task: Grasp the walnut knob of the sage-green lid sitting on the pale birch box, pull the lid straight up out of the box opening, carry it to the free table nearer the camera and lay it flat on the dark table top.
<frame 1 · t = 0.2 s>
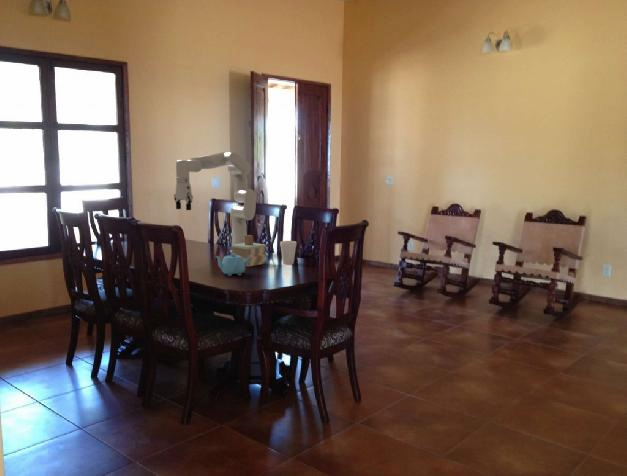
hand: (183, 209, 324), 31 cm above the table, fingers open, 9 cm apart
foam cup: (288, 263, 323), on the table
teapot: (233, 275, 289), on the table
box: (248, 263, 322), on the table
lid: (248, 248, 320), point 9 cm above the table, touching box
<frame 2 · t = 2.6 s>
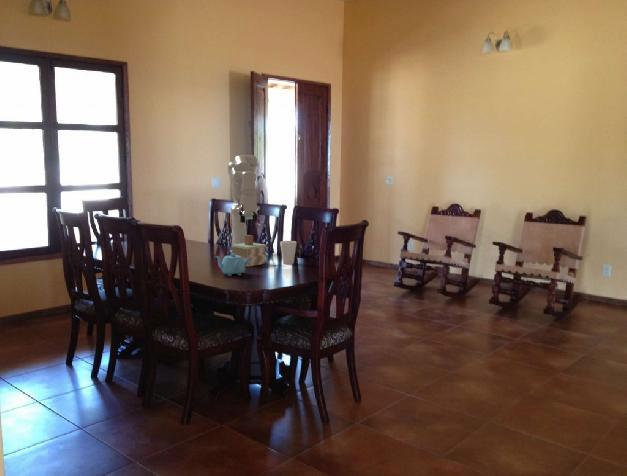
hand: (248, 221, 318), 25 cm above the table, fingers open, 9 cm apart
nothing on the table moved.
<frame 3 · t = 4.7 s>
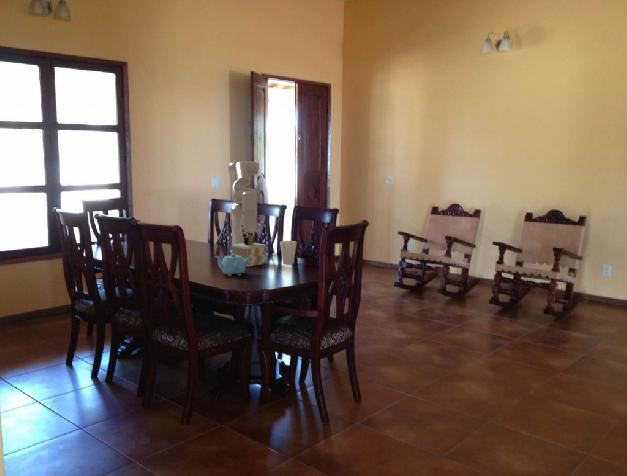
hand: (248, 243, 320), 12 cm above the table, fingers closed on lid, 3 cm apart
lid: (248, 248, 320), point 9 cm above the table, touching box, gripper
everything else where it was.
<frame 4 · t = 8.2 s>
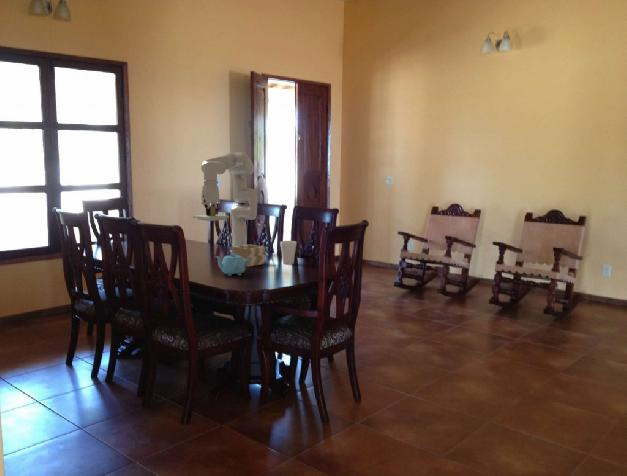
hand: (211, 214, 315), 29 cm above the table, fingers closed on lid, 3 cm apart
lid: (211, 219, 316), point 26 cm above the table, touching gripper
everything else where it was.
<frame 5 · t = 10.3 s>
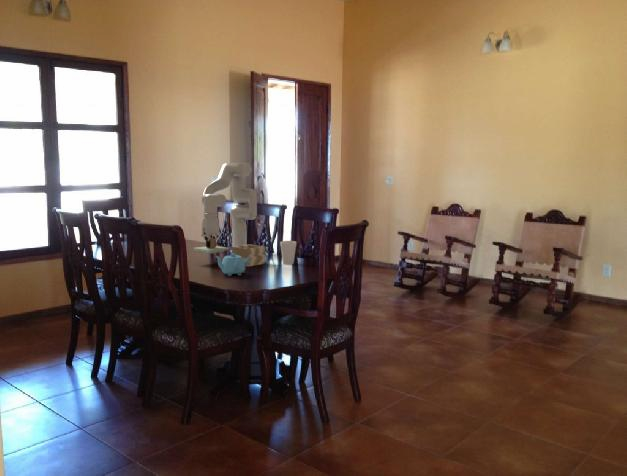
hand: (211, 246, 318), 10 cm above the table, fingers closed on lid, 3 cm apart
lid: (211, 251, 318), point 7 cm above the table, touching gripper
everything else where it was.
when the fingers open (4 cm above the table, at t = 11.8 s): lid drops 2 cm, on the table.
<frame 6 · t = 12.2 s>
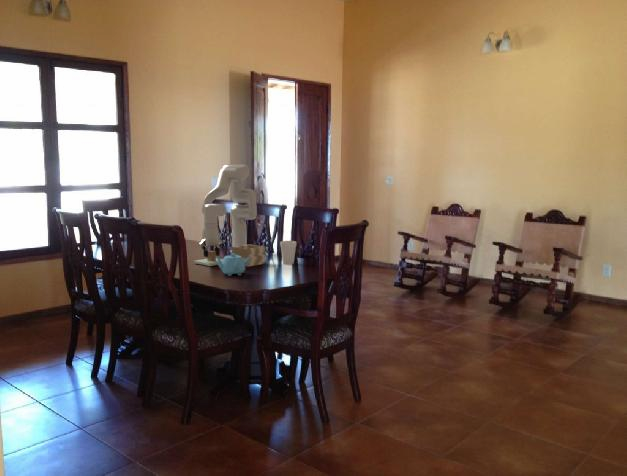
hand: (211, 255, 319), 5 cm above the table, fingers open, 7 cm apart
lid: (211, 264, 319), on the table
everything else where it was.
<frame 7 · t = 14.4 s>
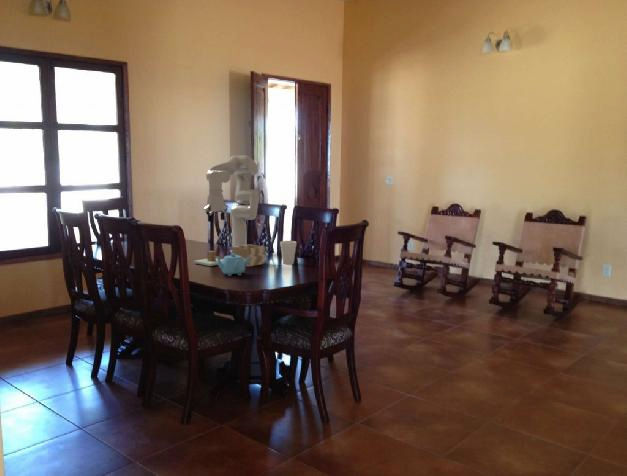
hand: (216, 220, 324), 25 cm above the table, fingers open, 9 cm apart
nothing on the table moved.
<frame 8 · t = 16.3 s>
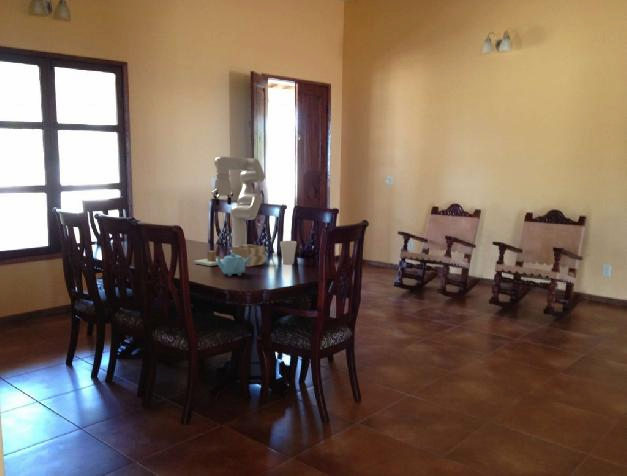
hand: (223, 204, 335), 33 cm above the table, fingers open, 9 cm apart
nothing on the table moved.
at the end: lid on the table; lid tilted 0°; lid inside the target area (0.1 cm from its centre), on the table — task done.
